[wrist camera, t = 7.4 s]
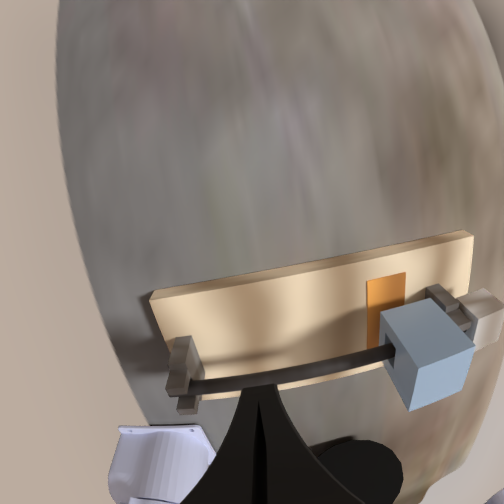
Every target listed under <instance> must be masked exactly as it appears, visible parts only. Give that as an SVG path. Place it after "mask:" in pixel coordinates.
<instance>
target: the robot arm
mask: <svg viewBox="0 0 504 504" xmlns="http://www.w3.org/2000/svg"><path fill="white" fill-rule="evenodd" d="M118 430H119V431H120V433H121V435H120V438H119V442H118V445H117V448H116V451H115V454H114V458H113V461H112V464H111V467H110V471H109V475H108V486H109V492H110V494H111V497H112V498H113V500H114V501H115V502H116V503H117V504H365V503H364V502H363V501H362V500H360V499H359V498H358V497H357V496H355V495H354V494H353V493H352V492H350V491H349V490H348V489H347V488H346V487H345V486H343V485H342V484H341V483H340V482H339V481H338V480H337V479H336V478H335V477H334V476H333V475H332V474H331V473H330V472H329V471H328V470H327V469H326V468H325V467H324V466H323V465H322V464H321V462H320V461H319V460H318V459H317V458H316V457H315V455H314V454H313V453H312V451H311V450H310V449H309V448H308V446H307V445H306V443H305V442H304V441H303V439H302V438H301V436H300V435H299V433H298V432H297V430H296V428H295V427H294V425H293V423H292V421H291V420H290V418H289V416H288V414H287V412H286V410H285V408H284V406H283V403H282V401H281V398H280V395H279V391H278V386H277V385H276V384H274V383H273V384H267V385H261V386H254V387H247V388H243V389H242V390H241V394H240V398H239V402H238V405H237V409H236V411H235V414H234V417H233V420H232V422H231V425H230V427H229V430H228V432H227V434H226V436H225V438H224V441H223V443H222V445H221V447H220V449H219V451H218V452H217V454H216V453H215V451H214V449H213V448H212V446H211V444H210V442H209V440H208V439H207V437H206V435H205V433H204V431H203V429H202V428H201V426H199V425H181V426H119V427H118ZM208 465H210V466H209V467H208ZM485 504H504V488H503V489H502V490H500V491H499V492H497V493H496V494H495V495H493V496H492V497H491V498H490V499H489V500H488V501H487V502H486V503H485Z"/></svg>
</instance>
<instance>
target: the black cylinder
mask: <svg viewBox="0 0 504 504" xmlns="http://www.w3.org/2000/svg"><path fill="white" fill-rule="evenodd" d="M317 459H318V460H319V461H320V462H321V464H322V465H323V466H324V467H325V468H326V469H327V470H328V471H329V472H330V473H331V474H332V475H333V476H334V477H335V478H336V479H337V480H338V481H339V482H340V483H341V484H342V485H343V486H345V487H346V488H347V489H348V490H349V491H350V492H352V493H353V494H354V495H355V496H357V497H358V498H359V499H360V500H362V501H363V502H364V503H365V504H393V502H394V500H395V499H396V497H397V496H398V494H399V493H400V489H401V486H402V483H403V472H402V465H401V462H400V461H399V459H398V458H397V457H396V455H395V454H394V452H393V451H392V450H391V449H389V448H387V447H386V446H384V445H383V444H380V443H377V442H374V441H370V440H351V441H348V442H345V443H342V444H338V445H335V446H333V447H332V448H330V449H328V450H327V451H325V452H324V453H323V454H322V455H321V456H320V457H319V458H317Z"/></svg>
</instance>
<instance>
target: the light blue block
mask: <svg viewBox="0 0 504 504" xmlns="http://www.w3.org/2000/svg"><path fill="white" fill-rule="evenodd" d="M388 343H393V345H394V347H395V348H396V352H395V357H394V358H390V359H387V360H384V361H382V362H383V364H384V366H385V368H386V370H387V372H388V374H389V375H390V377H391V379H392V381H393V383H394V385H395V387H396V389H397V391H398V392H399V394H400V396H401V398H402V400H403V402H404V404H405V406H406V408H407V410H408V412H410V411H412V410H415V409H418V408H420V407H423V406H426V405H428V404H431V403H433V402H436V401H438V400H440V399H443V398H445V397H447V396H450V395H452V394H454V393H456V392H459V391H461V390H462V387H463V384H464V382H465V379H466V376H467V373H468V370H469V367H470V364H471V360H472V357H473V354H474V350H475V347H476V345H475V344H474V343H473V342H472V341H471V340H470V339H469V338H468V336H467V335H466V334H465V333H464V332H463V331H462V330H461V329H460V328H459V327H458V326H457V325H456V324H455V322H454V321H453V320H452V319H451V318H450V317H449V316H448V315H447V314H446V313H445V312H444V311H443V310H442V309H441V308H440V307H439V306H438V305H437V304H436V303H435V302H434V301H433V300H432V299H431V298H428V299H424V300H421V301H418V302H414V303H411V304H407V305H403V306H400V307H396V308H392V309H389V310H385V311H381V312H380V332H379V346H381V345H385V344H388Z"/></svg>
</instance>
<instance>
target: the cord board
mask: <svg viewBox="0 0 504 504" xmlns="http://www.w3.org/2000/svg"><path fill="white" fill-rule="evenodd" d="M473 240H474V236H473V235H471V234H470V233H468V232H466V231H464V230H460V231H455V232H451V233H446V234H442V235H437V236H433V237H428V238H424V239H419V240H414V241H410V242H405V243H400V244H395V245H391V246H386V247H381V248H376V249H372V250H367V251H362V252H357V253H352V254H347V255H342V256H337V257H332V258H327V259H322V260H317V261H312V262H307V263H302V264H296V265H291V266H286V267H281V268H276V269H270V270H265V271H260V272H254V273H249V274H243V275H238V276H233V277H227V278H221V279H216V280H210V281H205V282H199V283H193V284H188V285H182V286H176V287H170V288H165V289H159V290H154V292H153V294H152V296H151V298H150V300H149V302H150V305H151V307H152V310H153V312H154V315H155V318H156V320H157V323H158V325H159V328H160V330H161V333H162V335H163V337H164V340H165V342H166V345H167V347H168V349H169V352H170V354H171V355H170V358H169V361H168V367H169V369H170V373H169V377H168V380H167V384H166V388H165V389H166V391H167V393H168V395H169V397H179V399H178V404H177V409H176V410H177V412H178V413H179V415H192V414H197V411H198V404H199V401H201V400H210V399H220V398H229V397H237V396H240V394H241V390H242V389H243V388H247V387H254V386H261V385H267V384H273V383H274V384H276V385H277V386H278V390H283V389H289V388H294V387H300V386H305V385H310V384H314V383H319V382H324V381H328V380H332V379H337V378H341V377H345V376H349V375H353V374H357V373H361V372H364V371H368V370H372V369H375V368H379V367H382V366H384V364H383V362H382V361H384V360H387V359H390V358H394V357H395V352H396V348H395V347H394V345H393V343H388V344H385V345H381V346H379V332H380V312H381V311H385V310H389V309H392V308H396V307H400V306H403V305H407V304H411V303H414V302H418V301H421V300H424V299H428V298H431V299H432V300H433V301H434V302H435V303H436V304H437V305H438V306H439V307H440V308H441V309H442V310H443V311H444V312H445V313H446V314H447V315H448V316H449V317H450V318H451V319H452V320H453V321H454V322H455V324H456V325H457V326H458V327H459V328H460V329H461V330H462V331H463V332H464V333H465V334H466V335H467V336H468V338H469V339H470V340H471V341H472V342H473V343H474V344H475V345H476V347H475V350H474V352H475V351H477V350H479V349H481V348H484V347H486V346H488V345H490V344H492V343H494V342H496V341H498V338H499V335H500V332H501V328H502V325H503V321H504V304H503V303H502V302H501V301H499V300H498V299H497V298H496V297H495V296H493V295H492V294H491V293H490V292H488V291H487V290H486V289H485V288H482V289H480V290H477V291H474V292H471V293H468V286H469V279H470V271H471V263H472V252H473ZM467 293H468V294H467Z"/></svg>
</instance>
